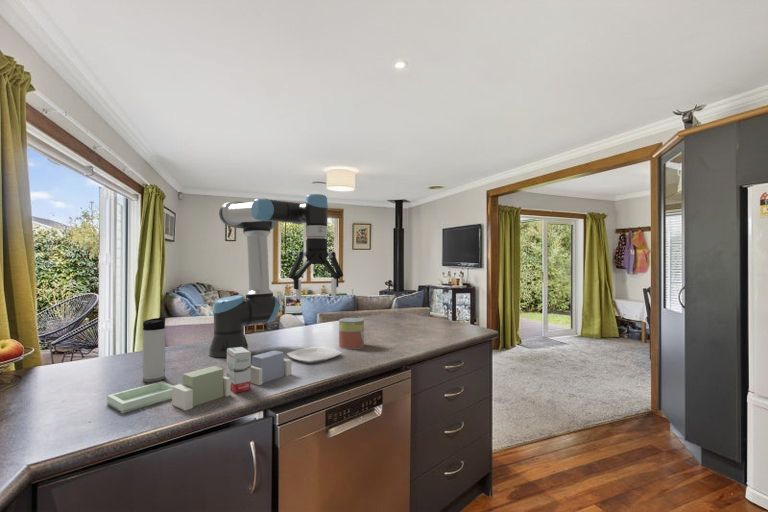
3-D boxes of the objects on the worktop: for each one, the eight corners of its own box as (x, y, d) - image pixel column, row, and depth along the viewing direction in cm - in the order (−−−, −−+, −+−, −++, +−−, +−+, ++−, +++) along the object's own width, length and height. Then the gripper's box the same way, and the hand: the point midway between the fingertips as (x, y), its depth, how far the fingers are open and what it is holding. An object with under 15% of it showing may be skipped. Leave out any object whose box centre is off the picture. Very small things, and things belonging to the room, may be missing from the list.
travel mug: (170, 377, 123) (170, 317, 123) (152, 383, 117) (152, 320, 117) (156, 375, 125) (156, 316, 125) (138, 381, 119) (138, 319, 119)
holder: (172, 404, 100) (172, 386, 100) (278, 370, 129) (278, 356, 129) (185, 410, 96) (185, 391, 96) (291, 374, 125) (291, 359, 125)
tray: (107, 404, 100) (107, 395, 100) (162, 389, 111) (162, 381, 111) (122, 413, 94) (122, 403, 94) (178, 396, 106) (178, 387, 106)
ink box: (251, 389, 111) (251, 350, 111) (234, 393, 108) (234, 353, 108) (242, 382, 117) (242, 345, 117) (225, 385, 114) (225, 348, 114)
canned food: (363, 349, 159) (363, 321, 159) (337, 349, 159) (337, 321, 159) (364, 343, 170) (364, 317, 170) (340, 343, 170) (340, 317, 170)
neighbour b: (251, 380, 119) (251, 356, 119) (274, 373, 127) (274, 350, 127) (261, 383, 116) (261, 358, 116) (283, 376, 124) (283, 352, 124)
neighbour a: (182, 402, 101) (182, 374, 101) (213, 392, 109) (213, 365, 109) (192, 407, 98) (192, 377, 98) (223, 396, 106) (223, 368, 106)
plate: (348, 357, 148) (348, 352, 148) (308, 368, 134) (308, 362, 134) (319, 349, 161) (319, 344, 161) (280, 358, 147) (280, 353, 147)
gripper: (286, 236, 120) (286, 301, 120) (352, 238, 135) (352, 296, 135) (278, 237, 127) (278, 298, 127) (342, 239, 141) (342, 294, 141)
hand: (316, 297), depth 131 cm, fingers open, 13 cm apart
